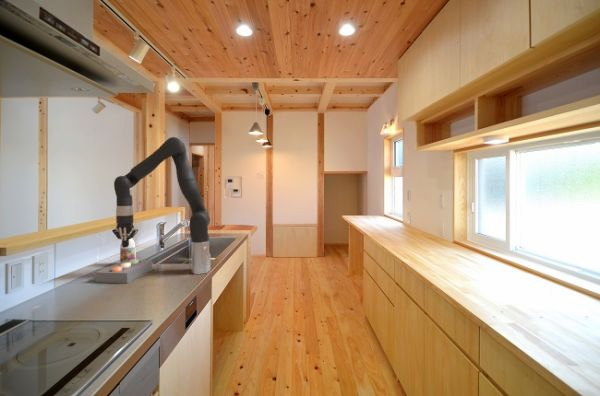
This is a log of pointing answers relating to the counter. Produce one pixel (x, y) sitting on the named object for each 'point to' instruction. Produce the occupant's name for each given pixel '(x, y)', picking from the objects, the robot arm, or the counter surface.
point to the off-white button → (126, 264)
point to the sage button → (134, 261)
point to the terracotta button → (116, 268)
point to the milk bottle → (128, 251)
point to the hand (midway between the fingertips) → (125, 247)
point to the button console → (123, 272)
